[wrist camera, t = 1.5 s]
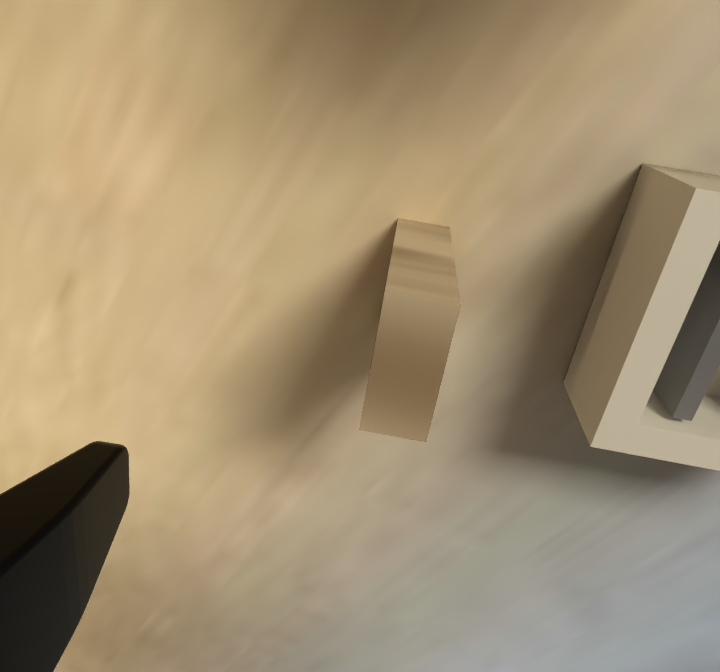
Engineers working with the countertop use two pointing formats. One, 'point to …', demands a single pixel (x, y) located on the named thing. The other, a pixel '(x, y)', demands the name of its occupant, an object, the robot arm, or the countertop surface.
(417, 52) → the countertop surface
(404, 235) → the tan wooden block
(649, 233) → the white open frame
